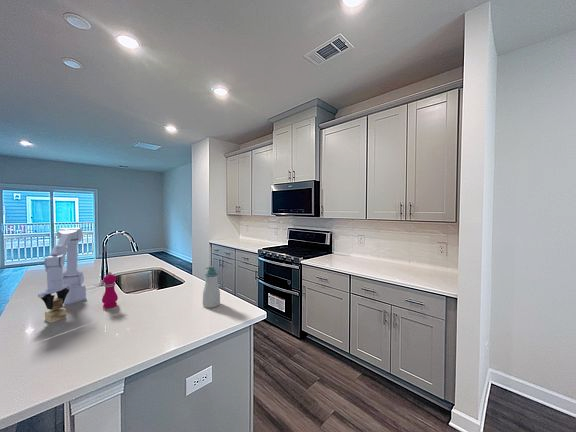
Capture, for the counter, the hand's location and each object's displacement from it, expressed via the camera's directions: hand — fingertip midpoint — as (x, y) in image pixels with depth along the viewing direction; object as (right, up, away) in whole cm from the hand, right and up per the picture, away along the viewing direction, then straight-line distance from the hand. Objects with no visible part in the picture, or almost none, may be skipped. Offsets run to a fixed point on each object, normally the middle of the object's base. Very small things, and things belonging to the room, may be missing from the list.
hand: (55, 306), depth 123 cm
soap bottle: (+72, -7, +21) cm, 75 cm away
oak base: (0, -6, 0) cm, 6 cm away
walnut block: (0, -1, 0) cm, 1 cm away
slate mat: (-2, -6, +4) cm, 8 cm away
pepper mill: (+16, -6, +16) cm, 23 cm away
